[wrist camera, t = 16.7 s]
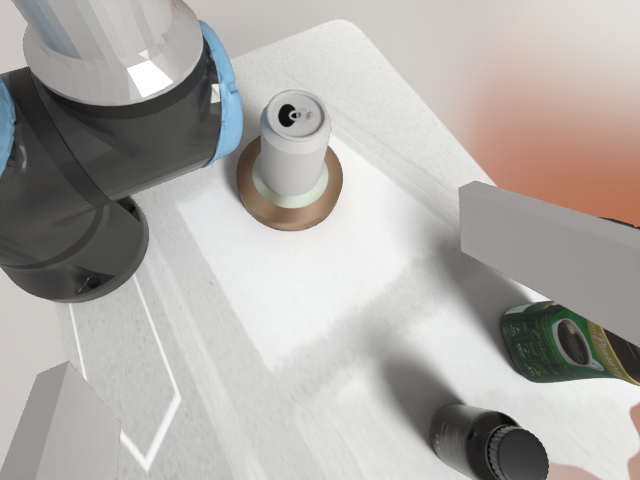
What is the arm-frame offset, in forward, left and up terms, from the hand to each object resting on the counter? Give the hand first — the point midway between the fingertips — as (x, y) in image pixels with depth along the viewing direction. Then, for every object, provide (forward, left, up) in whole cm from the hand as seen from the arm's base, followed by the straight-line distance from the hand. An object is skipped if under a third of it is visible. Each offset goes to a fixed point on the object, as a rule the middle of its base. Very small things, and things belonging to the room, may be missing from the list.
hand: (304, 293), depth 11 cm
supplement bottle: (+22, -5, -33) cm, 40 cm away
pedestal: (-5, +21, -33) cm, 39 cm away
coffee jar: (+31, +8, -33) cm, 46 cm away
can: (-5, +21, -30) cm, 37 cm away
